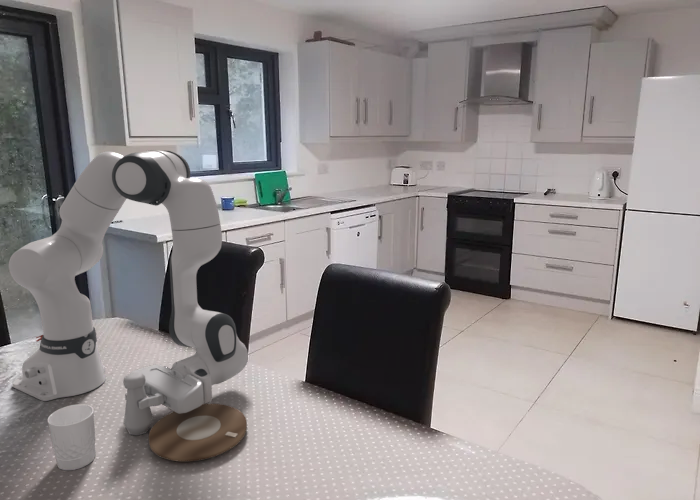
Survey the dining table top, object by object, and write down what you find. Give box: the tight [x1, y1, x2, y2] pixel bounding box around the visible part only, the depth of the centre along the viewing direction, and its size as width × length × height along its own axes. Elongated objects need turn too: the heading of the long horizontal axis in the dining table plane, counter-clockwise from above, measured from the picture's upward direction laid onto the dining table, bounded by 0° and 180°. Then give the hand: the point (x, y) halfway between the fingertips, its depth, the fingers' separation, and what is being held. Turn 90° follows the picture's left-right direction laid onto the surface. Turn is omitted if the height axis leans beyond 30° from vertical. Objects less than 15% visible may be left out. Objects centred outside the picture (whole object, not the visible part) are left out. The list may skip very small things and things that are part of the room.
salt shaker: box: [122, 372, 154, 436], centre depth 108 cm, size 6×6×13 cm
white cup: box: [46, 403, 97, 471], centre depth 99 cm, size 8×8×10 cm
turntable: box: [148, 403, 248, 462], centre depth 108 cm, size 20×20×1 cm
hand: (132, 401), depth 107 cm, fingers closed on salt shaker, 3 cm apart
